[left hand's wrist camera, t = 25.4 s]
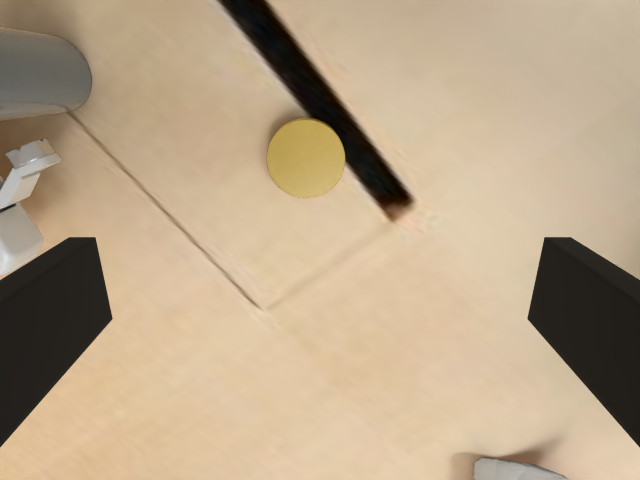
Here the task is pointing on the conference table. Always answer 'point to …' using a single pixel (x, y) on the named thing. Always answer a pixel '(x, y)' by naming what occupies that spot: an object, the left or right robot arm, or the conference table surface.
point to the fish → (511, 471)
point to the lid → (305, 158)
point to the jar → (40, 75)
